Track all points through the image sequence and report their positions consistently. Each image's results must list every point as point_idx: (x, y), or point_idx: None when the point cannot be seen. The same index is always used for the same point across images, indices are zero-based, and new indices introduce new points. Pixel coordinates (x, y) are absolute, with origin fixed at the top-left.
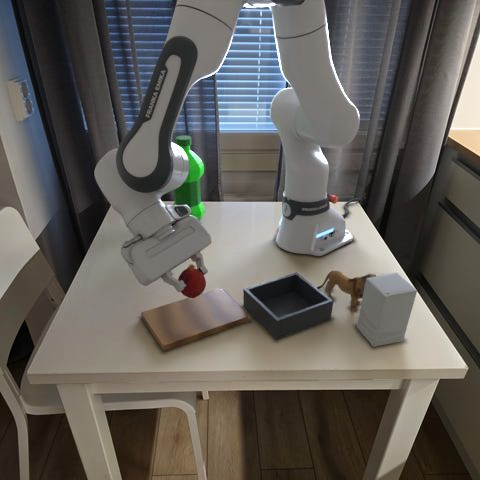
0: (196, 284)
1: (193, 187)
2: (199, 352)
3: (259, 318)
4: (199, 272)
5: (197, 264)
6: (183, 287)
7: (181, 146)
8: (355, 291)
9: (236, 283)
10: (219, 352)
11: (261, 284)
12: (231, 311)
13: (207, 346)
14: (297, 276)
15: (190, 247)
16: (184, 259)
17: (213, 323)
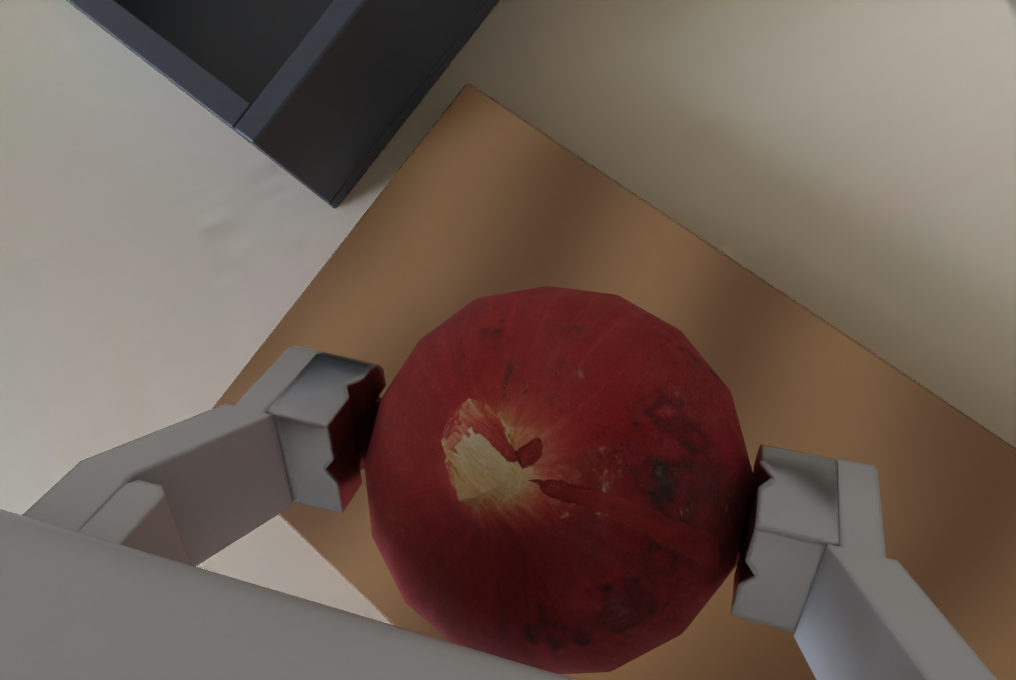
0: (663, 329)
1: None
2: (965, 258)
3: (460, 11)
4: (480, 340)
5: (231, 518)
6: (833, 462)
7: None
8: None
9: (81, 377)
10: (892, 129)
11: (152, 43)
12: (458, 217)
13: (869, 237)
14: None
15: (23, 664)
16: (420, 636)
17: (653, 274)
